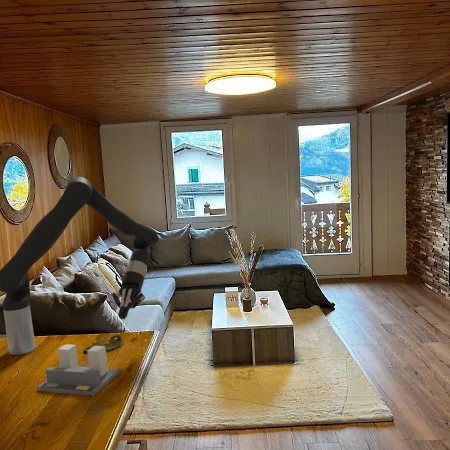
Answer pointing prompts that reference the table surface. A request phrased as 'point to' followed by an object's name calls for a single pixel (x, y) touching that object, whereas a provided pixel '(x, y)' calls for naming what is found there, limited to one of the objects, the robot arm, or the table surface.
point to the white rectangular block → (68, 357)
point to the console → (76, 380)
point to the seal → (108, 343)
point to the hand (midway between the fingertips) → (121, 318)
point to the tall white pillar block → (98, 359)
